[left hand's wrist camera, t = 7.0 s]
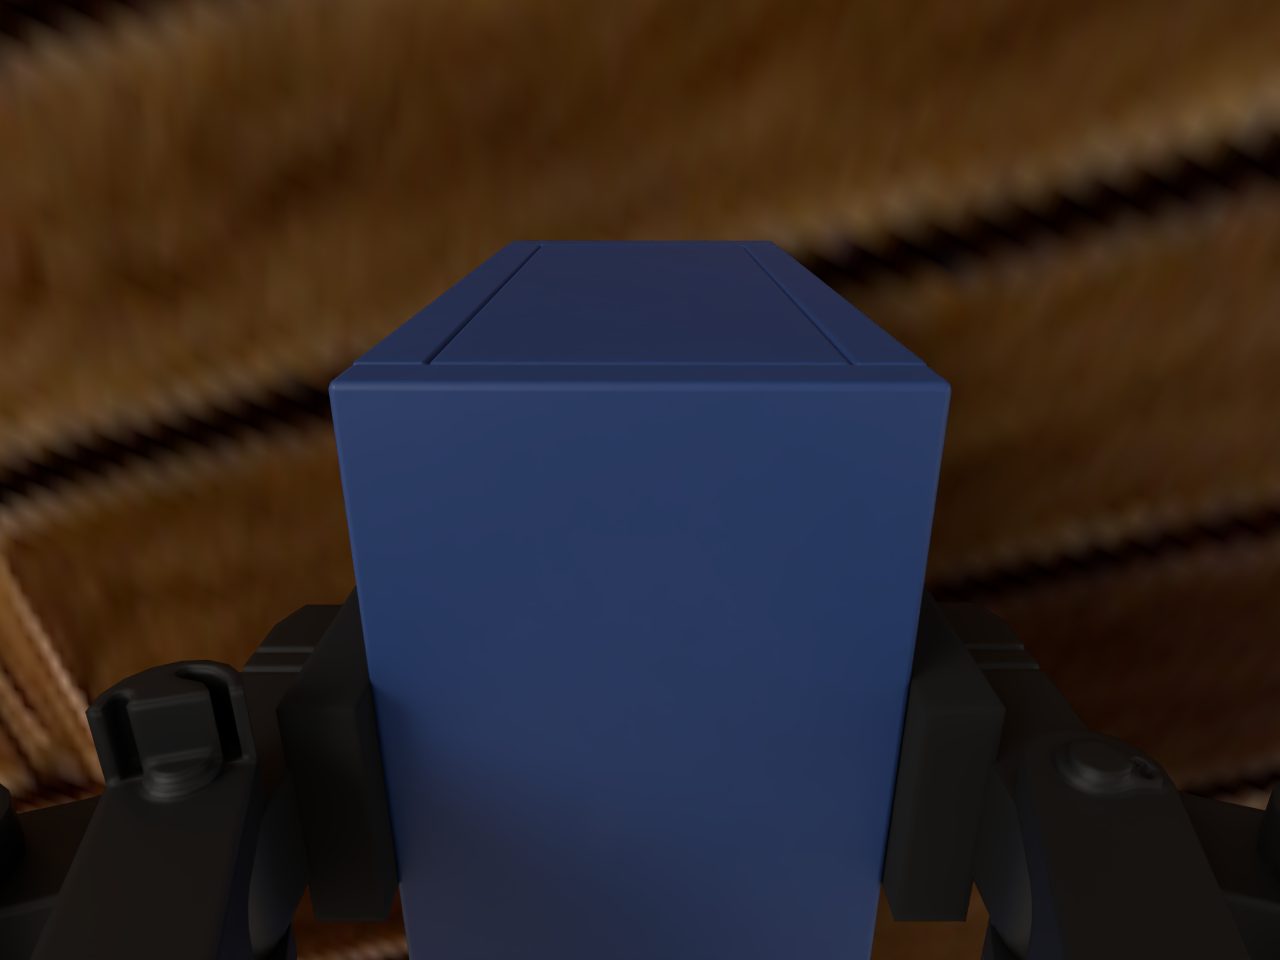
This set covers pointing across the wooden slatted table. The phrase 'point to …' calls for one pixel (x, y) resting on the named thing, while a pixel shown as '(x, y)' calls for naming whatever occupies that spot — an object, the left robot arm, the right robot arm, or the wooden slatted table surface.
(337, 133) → the wooden slatted table surface
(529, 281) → the cabinet
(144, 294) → the wooden slatted table surface
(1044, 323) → the wooden slatted table surface
